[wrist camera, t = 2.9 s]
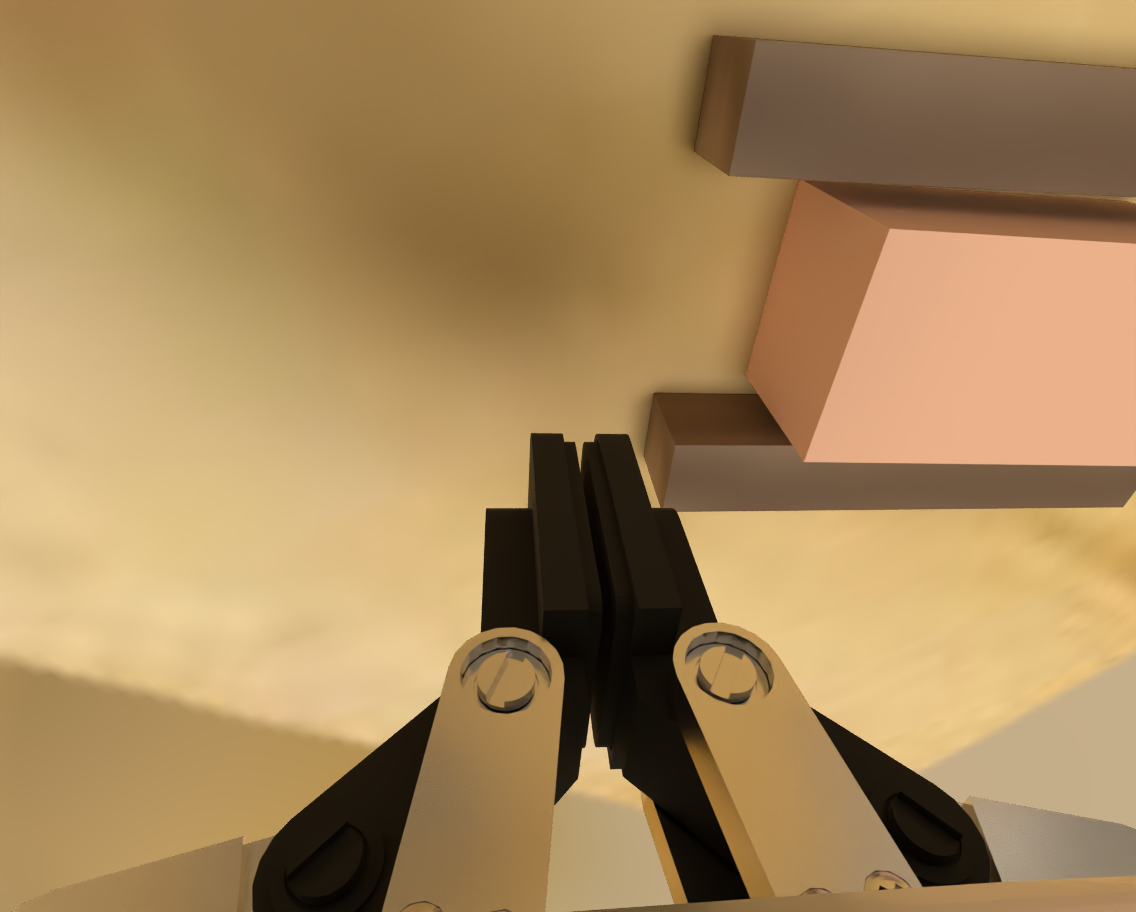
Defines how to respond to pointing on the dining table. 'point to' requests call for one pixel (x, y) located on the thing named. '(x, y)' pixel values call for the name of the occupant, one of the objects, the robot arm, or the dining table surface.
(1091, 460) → the block
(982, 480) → the chute
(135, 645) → the dining table surface
